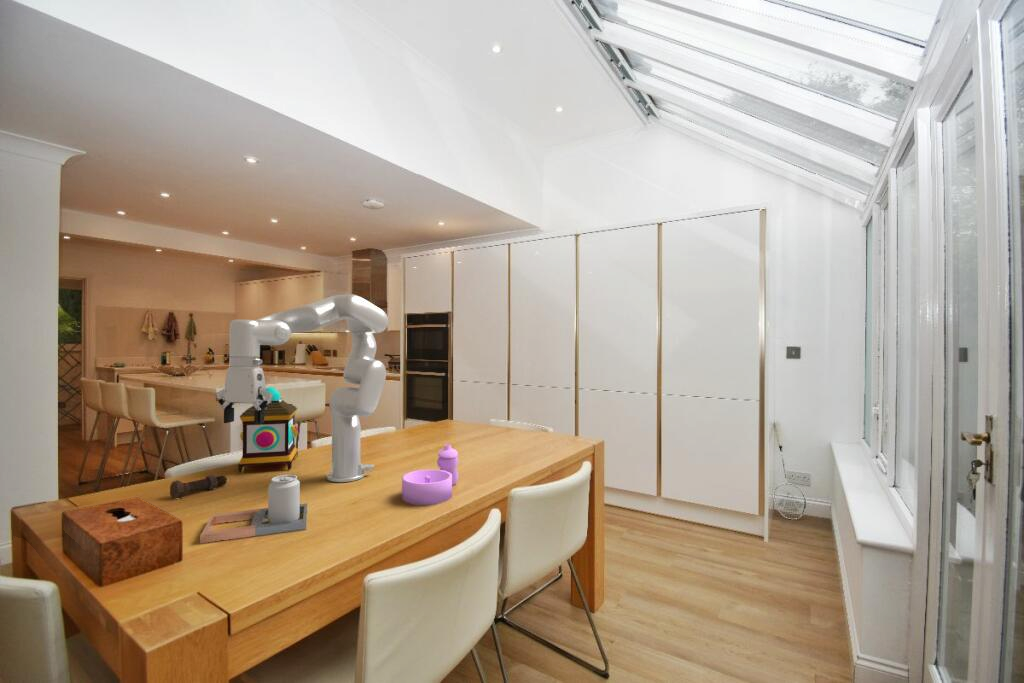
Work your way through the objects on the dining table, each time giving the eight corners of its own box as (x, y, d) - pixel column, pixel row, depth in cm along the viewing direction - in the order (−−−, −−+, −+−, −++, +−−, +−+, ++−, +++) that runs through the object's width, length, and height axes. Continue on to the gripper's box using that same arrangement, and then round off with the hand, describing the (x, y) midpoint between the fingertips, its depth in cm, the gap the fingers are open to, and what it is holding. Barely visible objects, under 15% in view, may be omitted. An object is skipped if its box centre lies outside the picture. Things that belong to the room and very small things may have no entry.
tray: (307, 510, 132) (307, 503, 132) (306, 529, 120) (306, 521, 119) (212, 521, 124) (212, 514, 124) (200, 543, 111) (200, 535, 111)
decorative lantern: (246, 461, 183) (247, 385, 183) (301, 457, 189) (302, 384, 189) (232, 475, 164) (233, 390, 164) (294, 471, 170) (294, 389, 170)
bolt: (225, 491, 153) (174, 503, 140) (218, 481, 156) (167, 492, 143) (231, 477, 152) (180, 488, 139) (224, 467, 154) (173, 477, 141)
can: (268, 530, 119) (268, 483, 119) (268, 519, 125) (268, 475, 125) (300, 524, 122) (300, 479, 122) (298, 515, 129) (299, 471, 129)
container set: (436, 508, 135) (437, 463, 135) (392, 501, 141) (392, 458, 141) (472, 483, 159) (473, 444, 159) (433, 478, 164) (433, 441, 164)
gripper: (280, 363, 135) (280, 422, 135) (228, 361, 138) (227, 419, 138) (262, 364, 127) (261, 426, 127) (207, 362, 130) (206, 424, 130)
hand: (243, 423), depth 132 cm, fingers open, 9 cm apart
